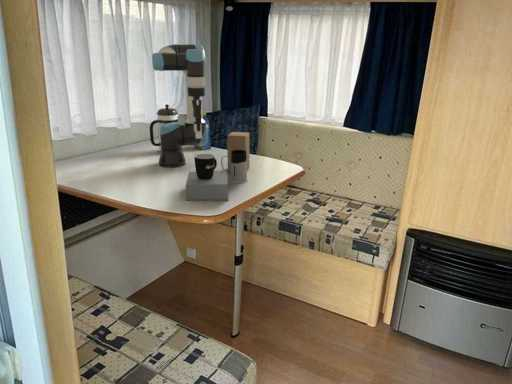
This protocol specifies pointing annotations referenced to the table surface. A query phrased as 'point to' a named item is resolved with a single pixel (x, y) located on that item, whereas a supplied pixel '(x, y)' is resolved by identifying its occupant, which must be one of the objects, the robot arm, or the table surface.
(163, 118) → the coffee press
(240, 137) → the wooden block
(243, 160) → the glass holder
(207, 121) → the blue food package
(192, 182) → the large grey square box
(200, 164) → the mug
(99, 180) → the table surface
